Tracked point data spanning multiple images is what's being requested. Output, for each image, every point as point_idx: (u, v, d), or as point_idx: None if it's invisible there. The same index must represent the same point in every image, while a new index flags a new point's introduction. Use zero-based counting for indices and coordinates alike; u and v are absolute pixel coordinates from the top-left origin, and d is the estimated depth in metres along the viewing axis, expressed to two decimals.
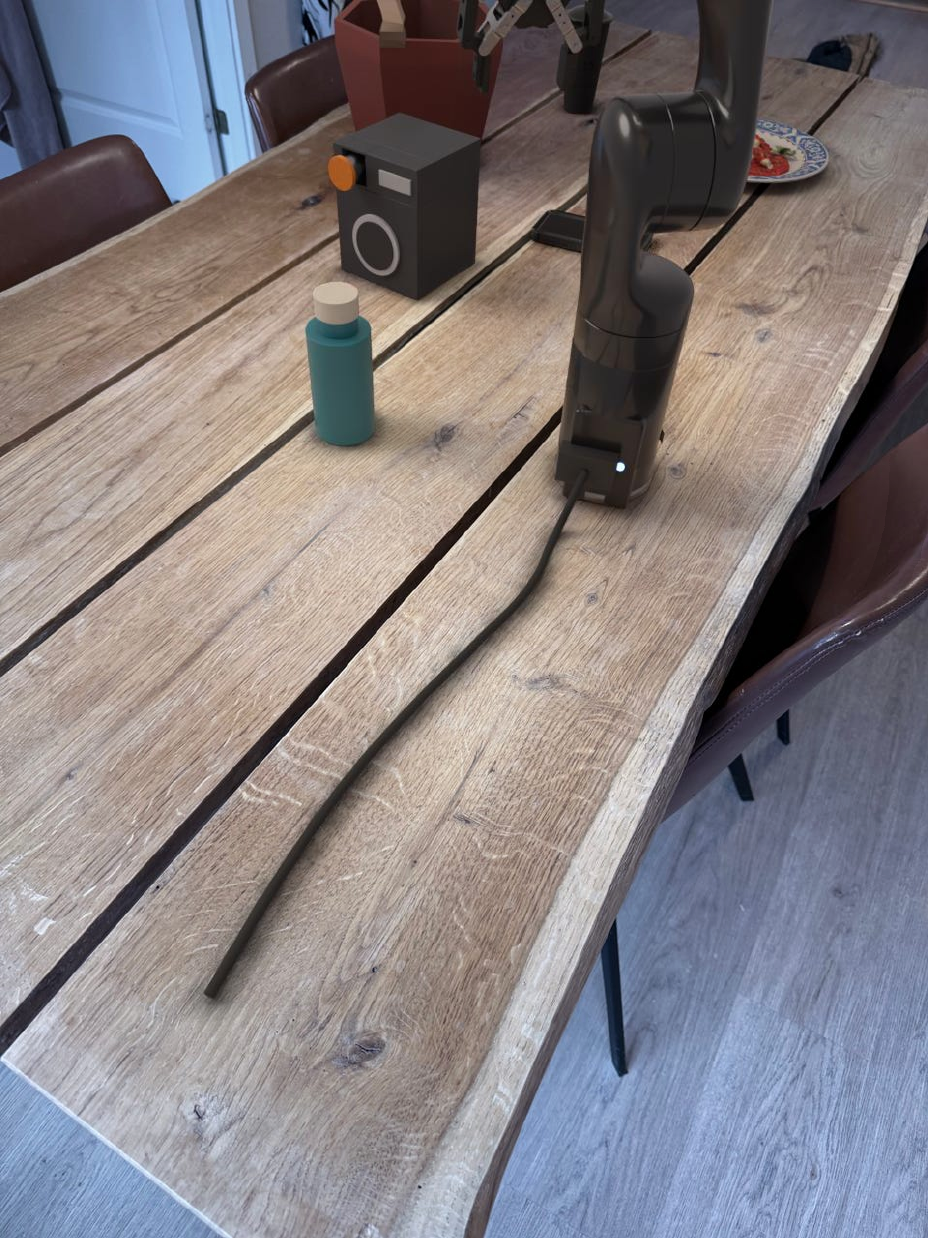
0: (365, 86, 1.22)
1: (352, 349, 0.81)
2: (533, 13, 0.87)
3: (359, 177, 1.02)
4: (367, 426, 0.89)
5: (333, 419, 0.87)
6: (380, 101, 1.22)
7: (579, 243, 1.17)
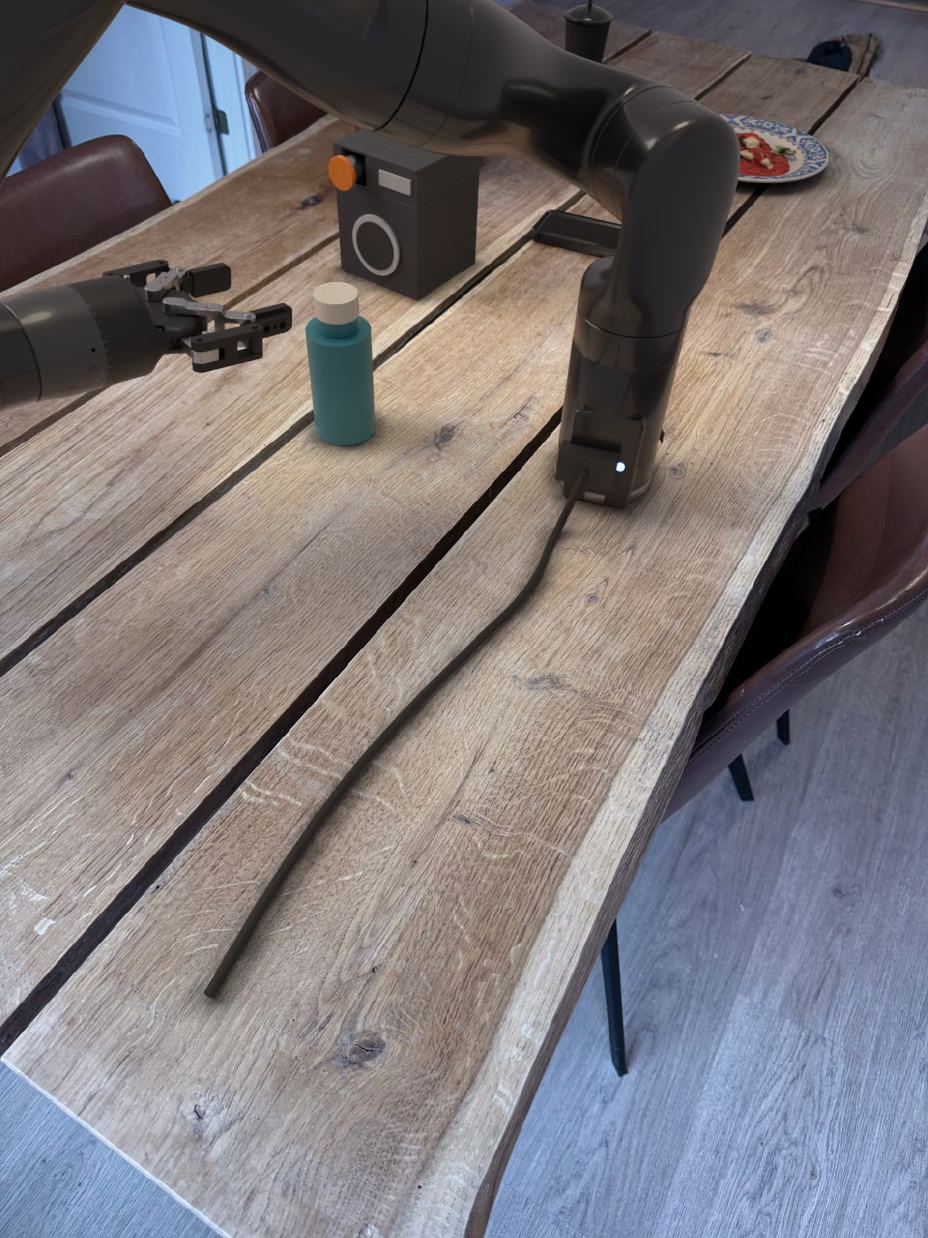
0: None
1: (352, 349, 0.81)
2: None
3: (359, 177, 1.02)
4: (367, 426, 0.89)
5: (333, 419, 0.87)
6: None
7: (579, 243, 1.17)
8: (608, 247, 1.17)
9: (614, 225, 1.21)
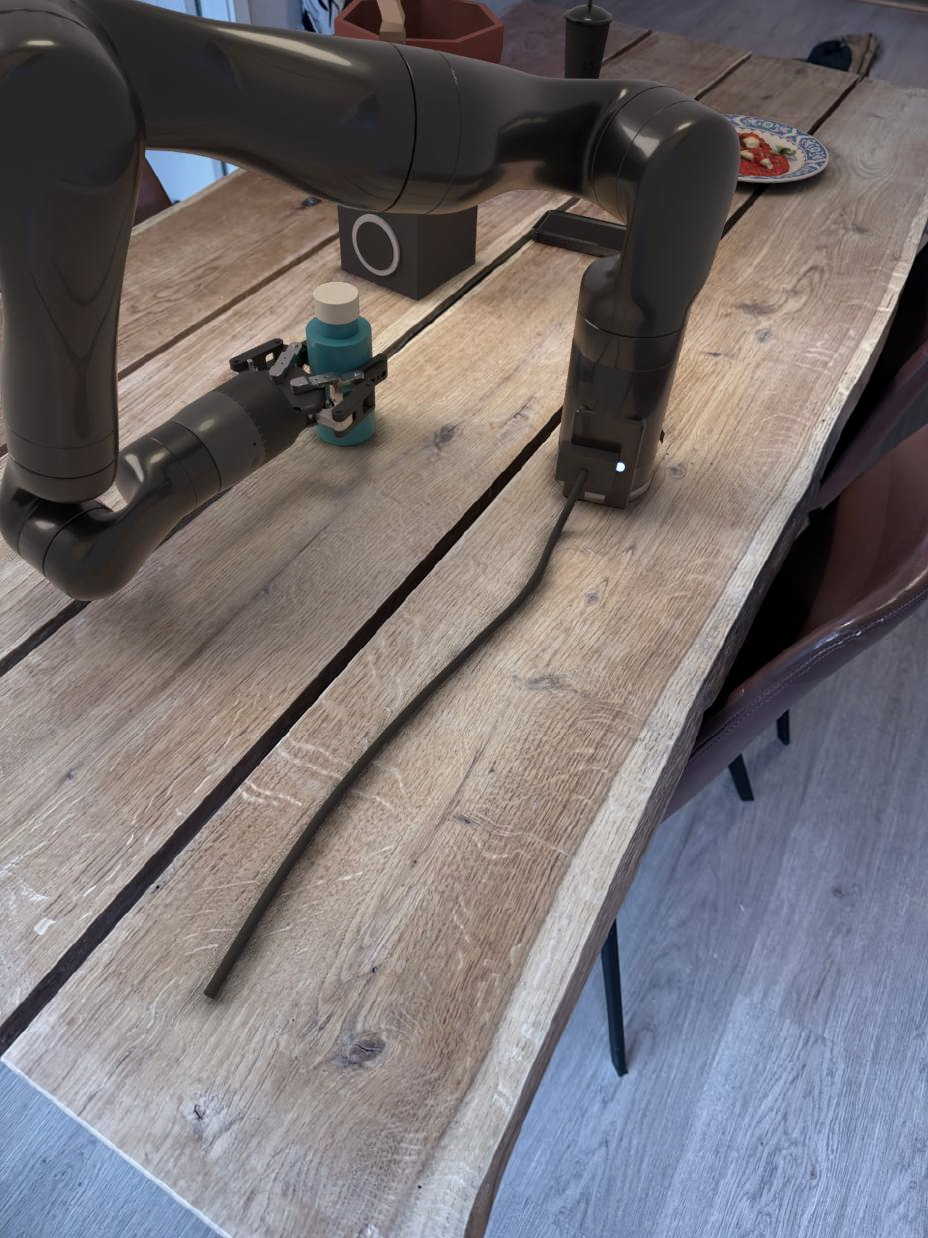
0: None
1: (352, 349, 0.81)
2: None
3: None
4: (367, 426, 0.89)
5: None
6: None
7: (579, 243, 1.17)
8: (608, 247, 1.17)
9: (614, 225, 1.21)
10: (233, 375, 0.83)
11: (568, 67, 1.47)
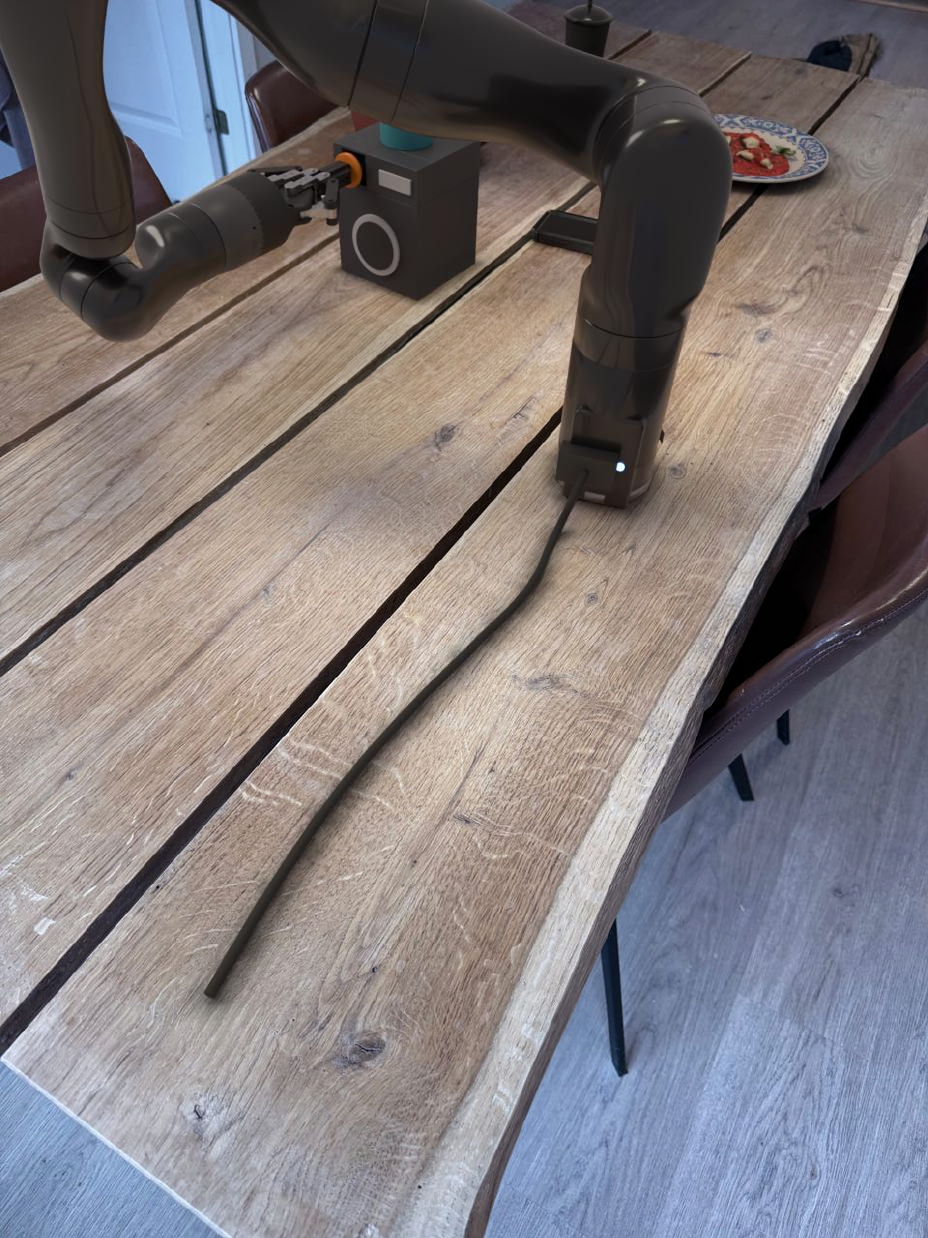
0: None
1: None
2: None
3: (365, 174, 1.02)
4: None
5: None
6: None
7: (579, 243, 1.17)
8: None
9: None
10: None
11: None
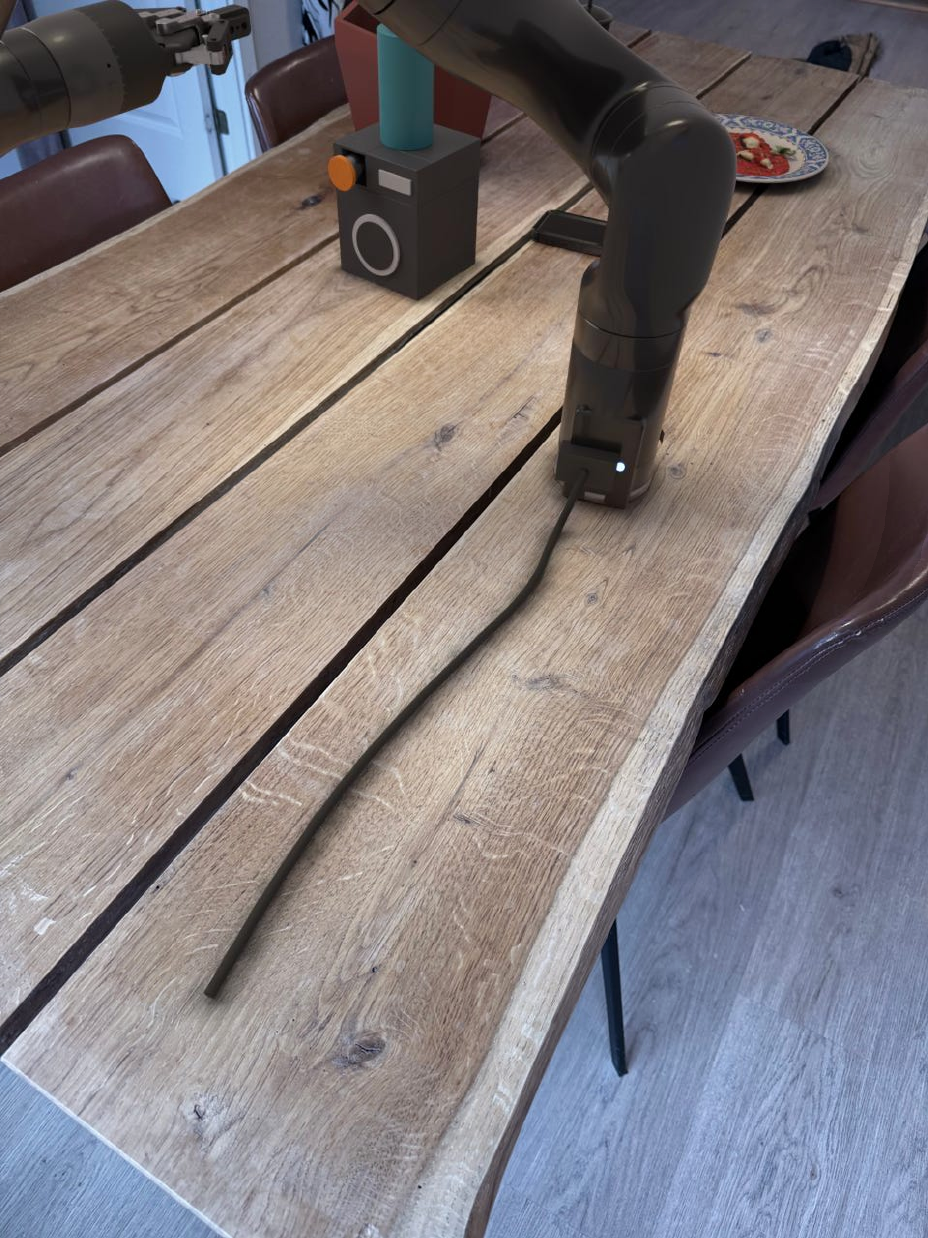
0: (365, 86, 1.22)
1: None
2: None
3: (359, 177, 1.02)
4: (427, 133, 1.00)
5: (399, 120, 0.98)
6: None
7: (579, 243, 1.17)
8: None
9: None
10: None
11: None
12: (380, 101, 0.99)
